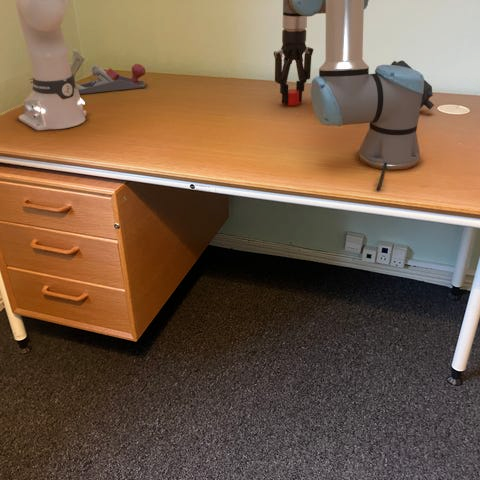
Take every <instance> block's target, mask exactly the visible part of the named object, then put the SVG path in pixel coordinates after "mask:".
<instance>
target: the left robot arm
mask: <svg viewBox="0 0 480 480" xmlns="http://www.w3.org/2000/svg"><path fill="white" fill-rule="evenodd" d="M69 3H70V0H15V7H16V10H17V15H18V19H19V23H20V27H21V31H22V34H23V38H24V41H25V46H26V48H27V53H28V58H29V61H30V67H31V71H32V75H33V78H30V79H29V81H30V83H31V84H32V91H31V92H30V93H29V94H28V96H27V97H26V98H25V99H24V101H23V109H24V113H22V114H20V115H19V116H18V120H19V121H20V122H22V123H23V124H25V125H27V126H28V127H30V128H32V129H34V130H35V131H47V130H63V129H68V128H73V127H76V126H79V125H82V124H83V123H84V122H86V120H87V119H86V116H88V112H87V110H85V109H84V106H83V105H85V101H84V100H83V99H82V98H81V94H79V91H78V90H77V89H75V87H76V85H75V82H76V79H75V78H74V75H73V74H72V72H71V66H70V63H71V62H70V55H69V51H68V47H67V44H66V39H65V36H64V33H63V29H62V24H63V22H64V17H65V14H66V12H67V8H68V4H69Z"/></svg>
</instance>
